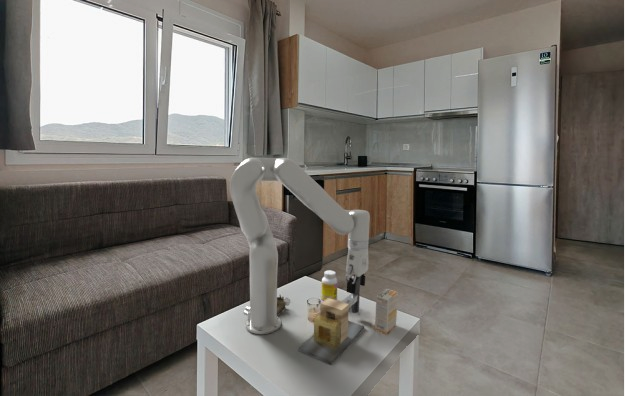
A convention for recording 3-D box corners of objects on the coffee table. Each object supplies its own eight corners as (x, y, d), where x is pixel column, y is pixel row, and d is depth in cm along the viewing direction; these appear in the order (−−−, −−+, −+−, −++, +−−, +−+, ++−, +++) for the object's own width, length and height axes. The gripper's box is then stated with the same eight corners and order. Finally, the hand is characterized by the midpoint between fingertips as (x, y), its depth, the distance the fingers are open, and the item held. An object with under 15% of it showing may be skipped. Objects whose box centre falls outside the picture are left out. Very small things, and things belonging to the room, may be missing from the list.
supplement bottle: (335, 306, 132) (336, 276, 130) (319, 304, 133) (320, 274, 132) (337, 298, 139) (338, 270, 137) (322, 297, 140) (323, 268, 138)
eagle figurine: (274, 301, 133) (259, 305, 125) (284, 289, 131) (269, 292, 123) (285, 315, 129) (271, 321, 122) (295, 303, 127) (281, 308, 119)
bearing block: (298, 350, 102) (299, 313, 100) (335, 318, 122) (336, 287, 120) (331, 364, 96) (332, 325, 94) (364, 328, 116) (366, 295, 114)
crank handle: (329, 329, 109) (330, 290, 107) (353, 308, 124) (354, 273, 122) (336, 332, 107) (338, 292, 105) (360, 310, 123) (361, 275, 121)
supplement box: (384, 321, 121) (386, 288, 119) (396, 325, 118) (398, 291, 116) (373, 330, 115) (375, 295, 113) (386, 335, 112) (388, 299, 110)
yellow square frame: (313, 341, 106) (314, 318, 104) (318, 336, 108) (319, 314, 107) (335, 349, 101) (335, 325, 100) (339, 344, 104) (340, 321, 103)
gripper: (357, 251, 109) (355, 300, 112) (376, 240, 124) (374, 283, 126) (337, 247, 113) (336, 294, 116) (358, 236, 128) (356, 279, 130)
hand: (355, 288), depth 121 cm, fingers open, 8 cm apart
